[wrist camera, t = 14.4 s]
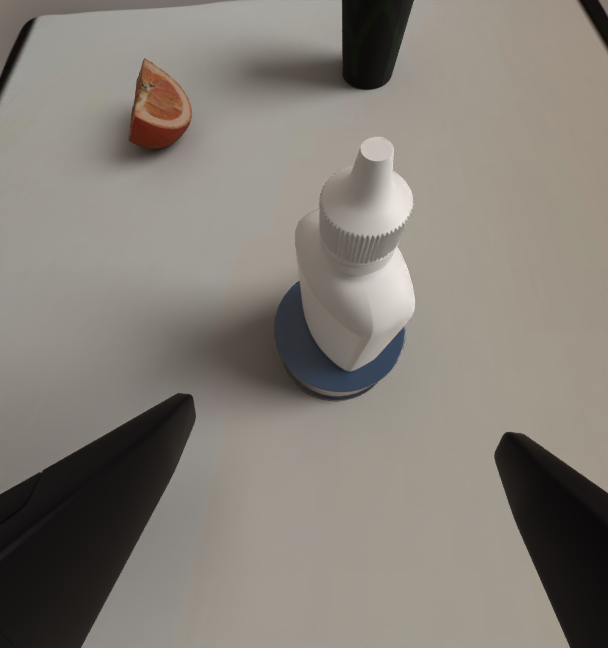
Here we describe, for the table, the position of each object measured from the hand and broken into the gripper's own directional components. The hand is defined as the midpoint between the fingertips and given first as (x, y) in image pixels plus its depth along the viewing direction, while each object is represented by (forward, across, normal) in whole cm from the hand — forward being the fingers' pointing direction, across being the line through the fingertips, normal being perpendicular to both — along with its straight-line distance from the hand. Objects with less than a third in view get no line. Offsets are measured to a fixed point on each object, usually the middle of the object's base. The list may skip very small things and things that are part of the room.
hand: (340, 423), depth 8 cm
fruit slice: (+28, +19, -10) cm, 36 cm away
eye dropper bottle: (+10, 0, +2) cm, 10 cm away
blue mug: (+13, 0, +5) cm, 14 cm away
